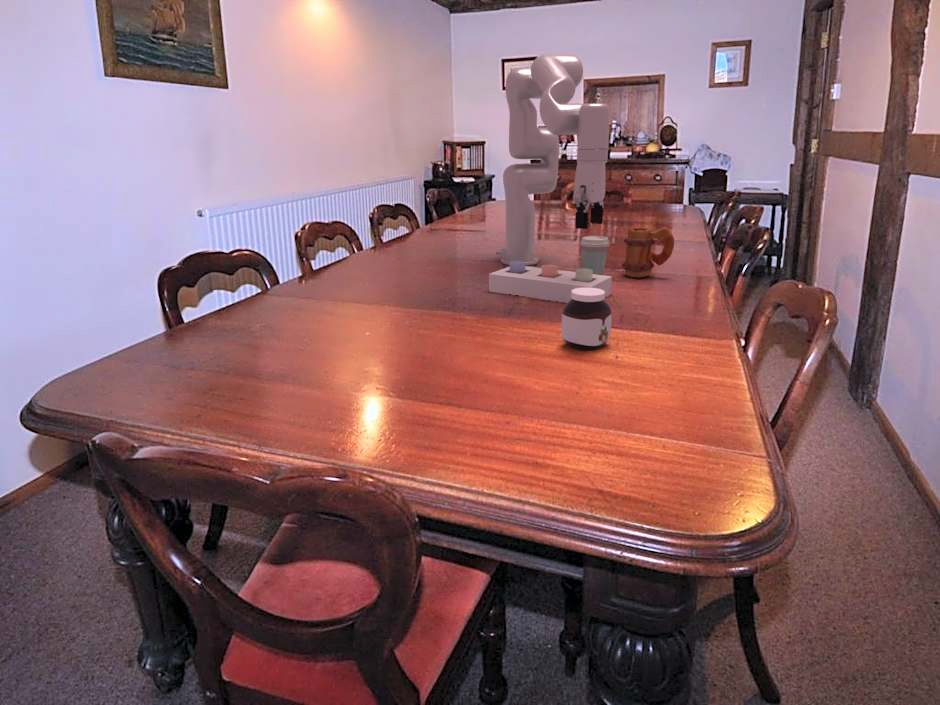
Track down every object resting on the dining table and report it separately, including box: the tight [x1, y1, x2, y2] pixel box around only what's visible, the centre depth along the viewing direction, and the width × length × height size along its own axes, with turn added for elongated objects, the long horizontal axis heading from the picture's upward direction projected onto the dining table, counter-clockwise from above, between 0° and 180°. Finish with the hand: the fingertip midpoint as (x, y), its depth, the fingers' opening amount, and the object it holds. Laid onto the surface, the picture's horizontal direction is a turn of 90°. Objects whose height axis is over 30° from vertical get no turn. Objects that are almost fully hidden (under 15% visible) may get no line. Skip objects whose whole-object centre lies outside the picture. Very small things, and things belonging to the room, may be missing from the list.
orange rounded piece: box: [541, 263, 559, 278], centre depth 178 cm, size 4×4×5 cm
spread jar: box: [560, 288, 613, 351], centre depth 138 cm, size 12×11×12 cm
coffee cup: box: [579, 235, 610, 275], centre depth 194 cm, size 8×8×12 cm
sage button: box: [575, 267, 593, 283], centre depth 173 cm, size 4×4×5 cm
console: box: [488, 265, 613, 304], centre depth 179 cm, size 30×14×5 cm, turn 57°
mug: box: [621, 226, 675, 279], centre depth 194 cm, size 15×8×15 cm, turn 62°
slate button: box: [509, 261, 526, 274], centre depth 183 cm, size 4×4×5 cm
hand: (589, 225), depth 169 cm, fingers open, 9 cm apart
